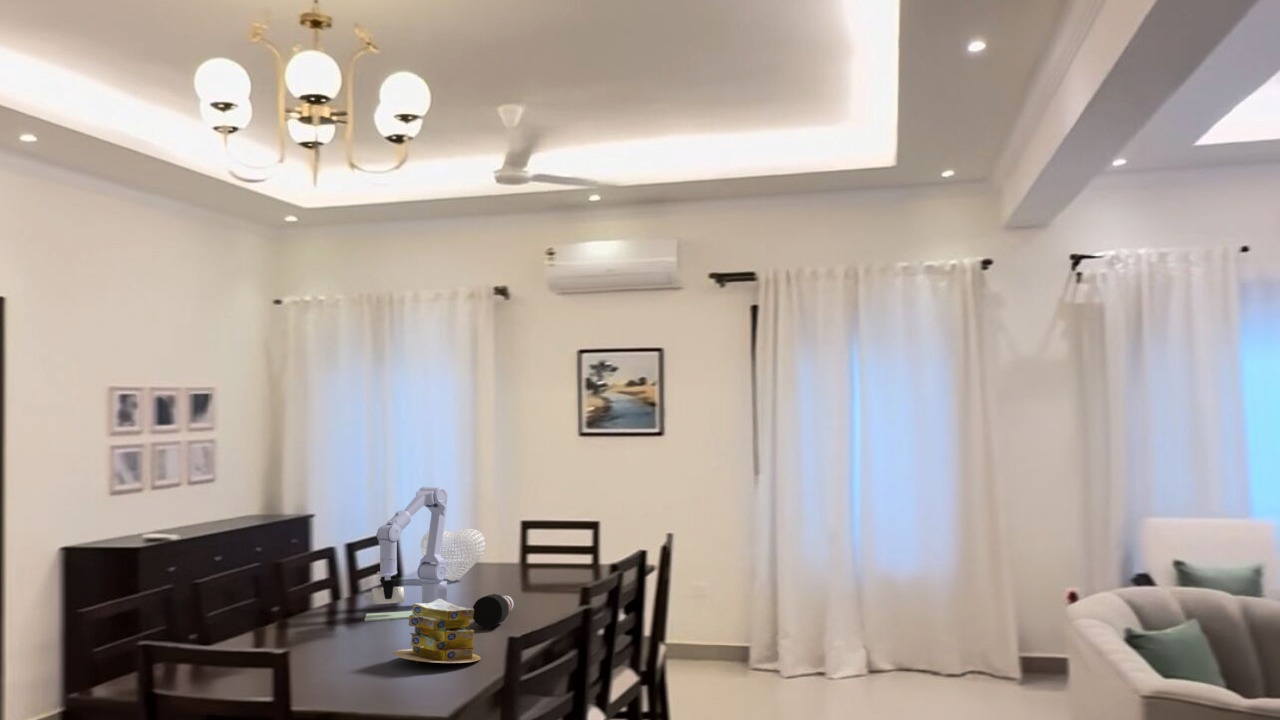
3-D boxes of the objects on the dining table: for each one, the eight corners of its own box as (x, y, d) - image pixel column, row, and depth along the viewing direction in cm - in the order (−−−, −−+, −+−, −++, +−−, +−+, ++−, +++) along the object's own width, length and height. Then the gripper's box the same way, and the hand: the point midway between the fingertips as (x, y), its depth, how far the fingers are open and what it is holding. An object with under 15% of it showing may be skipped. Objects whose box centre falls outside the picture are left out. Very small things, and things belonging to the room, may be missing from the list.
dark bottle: (514, 622, 351) (526, 596, 352) (493, 633, 318) (507, 605, 319) (489, 609, 353) (502, 583, 354) (466, 619, 319) (480, 591, 320)
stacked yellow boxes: (452, 647, 297) (452, 592, 297) (497, 661, 278) (496, 602, 279) (377, 662, 280) (377, 604, 281) (419, 678, 262) (418, 616, 263)
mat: (412, 612, 350) (412, 611, 350) (411, 618, 340) (411, 616, 340) (366, 615, 346) (366, 613, 346) (364, 621, 337) (364, 619, 337)
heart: (490, 577, 422) (489, 526, 423) (480, 584, 406) (479, 530, 408) (427, 577, 425) (427, 526, 426) (415, 584, 409) (415, 531, 411)
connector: (404, 600, 347) (404, 586, 347) (403, 602, 343) (403, 588, 343) (365, 602, 344) (365, 588, 344) (364, 604, 340) (364, 590, 340)
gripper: (377, 556, 351) (378, 594, 350) (375, 562, 336) (375, 602, 336) (398, 555, 352) (398, 593, 351) (396, 561, 338) (396, 600, 337)
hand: (388, 597), depth 344 cm, fingers closed on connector, 4 cm apart
